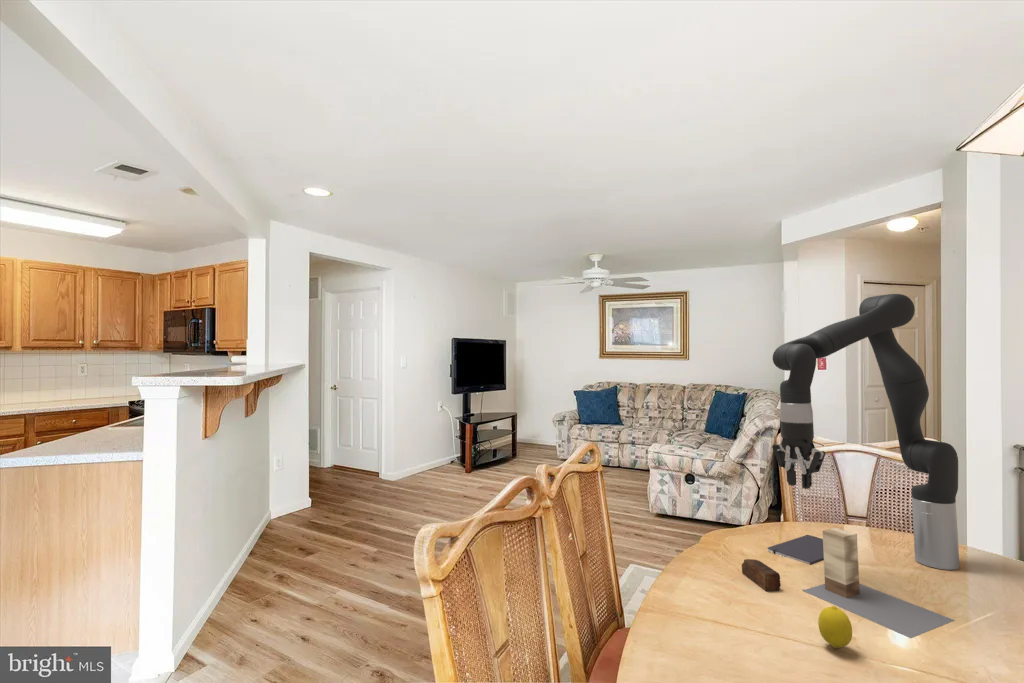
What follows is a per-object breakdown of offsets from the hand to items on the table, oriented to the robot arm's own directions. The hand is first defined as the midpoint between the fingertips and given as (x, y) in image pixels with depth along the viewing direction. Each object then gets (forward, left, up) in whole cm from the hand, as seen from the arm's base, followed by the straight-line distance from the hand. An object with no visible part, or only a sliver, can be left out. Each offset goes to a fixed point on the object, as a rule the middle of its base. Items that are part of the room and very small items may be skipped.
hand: (799, 486), depth 128 cm
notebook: (-18, -11, -24) cm, 32 cm away
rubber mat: (0, +17, -23) cm, 29 cm away
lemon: (+24, +24, -23) cm, 41 cm away
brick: (+13, -2, -24) cm, 27 cm away
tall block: (0, +10, -23) cm, 25 cm away
